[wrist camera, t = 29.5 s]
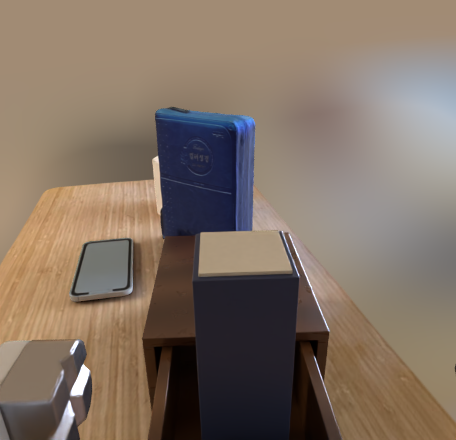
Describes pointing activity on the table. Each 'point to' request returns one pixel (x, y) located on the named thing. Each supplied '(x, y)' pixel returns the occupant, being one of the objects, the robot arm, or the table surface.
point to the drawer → (190, 408)
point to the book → (205, 171)
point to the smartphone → (103, 270)
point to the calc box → (244, 333)
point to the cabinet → (184, 309)
